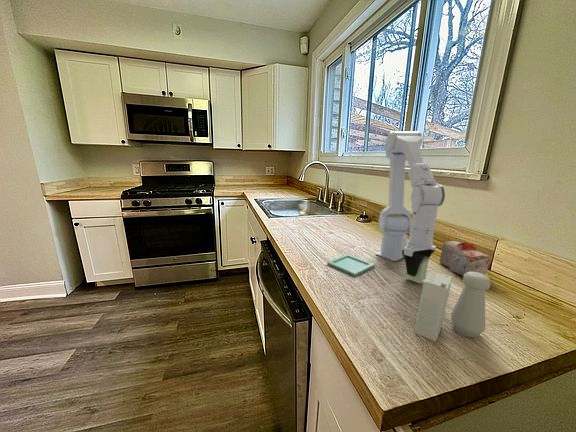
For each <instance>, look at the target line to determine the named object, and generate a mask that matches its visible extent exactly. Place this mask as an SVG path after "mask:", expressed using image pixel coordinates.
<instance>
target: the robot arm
mask: <svg viewBox="0 0 576 432" xmlns="http://www.w3.org/2000/svg"><path fill="white" fill-rule="evenodd" d="M423 141H424V136H423V133H422V132H421V131H419V130H417V131H395V130H391V131H390V132H389V134H388V135H387V137H386V140H385V158H387V159H388V160H389V185H388V187H389V188H388V205H387V206H386V207H385V208H383V209H381V210H380V212H379V218H378V229H379V230H380V231H381V232H382V235H381V236H382V237H381V245H380V251H377V252H375V255H376V256H379V257H381V258H385V259H388V260H390V261H393V262H397V261H399V260H401V259H404V263H405V262H406V269H407V274H408V275H411V276H414V277H415V276H416V274H417V272H418V268H419V266H420V263H421V261H422V260H423V259H424V257H425V256H427V257H429V258H431V256H432V254H433V253H435V251H436V249H437V246H436V245H434V244H433V242H434V230H435V226H436V222H437V221H436V220H437V215H438V209H439V207H441V206H442V205H443V204H444V202H445V200H446V190H445V187H444V185H442V184H439V183H440V182H436V180H435V176H434V175H433V172H432V170H431V167H430V165H429V164H427V163H424V160H423V158H424V157H423V156H422V150H421V147H422V145H423ZM406 162H407V164H408V165H409V169H408V171H407V175H408V178H409V182H410V185H411V188H412V191H411V193H410V200H411V207H410V208H411V211H412V215H411V212H410V210H408V209H407V208H406V207H405V206H404V202H405V201H404V198H405V177H406V175H405V174H406ZM411 216H412V217H411ZM407 233H409V237H408V236H407ZM423 255H424V256H423Z"/></svg>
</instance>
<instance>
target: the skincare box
mask: <svg viewBox="0 0 576 432" xmlns="http://www.w3.org/2000/svg"><path fill="white" fill-rule="evenodd" d="M427 273H428V274H426V278H425V279H424V281H423V285H422V289H421V294H420V299H419V302H418V303H419V304H418V308H417V314H416V319H415V324H414V330H413V332H414V333H415V334H418V335H420V336H422V337H423V338H425V339H429V340H431V341H433V342H437V341H438V338H439V335H440V332H441V328H442V326H443V322H444V317H445V313H446V308H447V304H448V299H449V295H450V290H451V285H452V281H453V276H450V275H446V274H444V273H443V274H442V273H438V272H435V271H429V272H427Z"/></svg>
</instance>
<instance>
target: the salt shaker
mask: <svg viewBox="0 0 576 432" xmlns="http://www.w3.org/2000/svg"><path fill="white" fill-rule="evenodd" d="M462 281H463V283H464V284H465V285H464V286H463V288H462V291H461V292H460V294H459V297H458V299H457V301H456V304H455V306H454V307H453V310H452V311H451V314H450V315H451V316H450V321H451V323H452V324H453V328H454V330H455V332H456V333H458V334H460V335H462V336H463V337H465V338H471V339H476V338H477V337H478V336H479V335H480V334H482V333H483V332H484V331H485V330H486V291H487V290H489V289H490V287H491V285H492V281H491V278H490V277H489V276H487V275H486V274H485V275H484V274H482V273H478V272H467V273H465V274H464V277H463V276H462Z"/></svg>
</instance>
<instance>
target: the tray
mask: <svg viewBox="0 0 576 432" xmlns="http://www.w3.org/2000/svg"><path fill="white" fill-rule="evenodd" d="M326 264H327V265H328V266H330V267H331V268H332V267H333V268H335V269H336V270H339V271H341V272H343V273H346V274H347V275H350V276H353V278H354V277H355V278H356V277H358V276H360V275H361V274H364V273H365V272H367V271H369V270H372V269H373V268H375V266H376V264H375V263H373V262H370V261H368V260H365V259H362V258H359V257H357V256H355V255H351V254H349V253H347V254H344V255H342V256H339V257H337V258H334V259H332V260H329V261H327V263H326Z"/></svg>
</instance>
